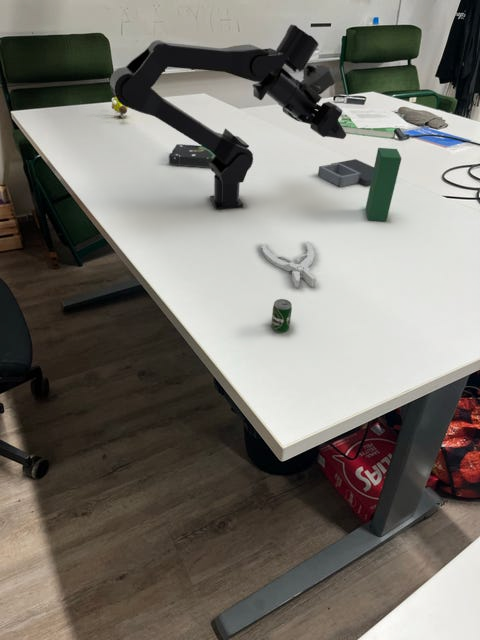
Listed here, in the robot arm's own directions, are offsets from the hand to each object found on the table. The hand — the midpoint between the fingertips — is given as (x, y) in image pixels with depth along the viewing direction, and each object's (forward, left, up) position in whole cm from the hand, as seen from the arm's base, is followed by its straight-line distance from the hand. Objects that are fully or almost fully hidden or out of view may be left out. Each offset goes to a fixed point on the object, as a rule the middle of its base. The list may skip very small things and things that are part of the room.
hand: (334, 131), depth 109 cm
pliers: (-32, +21, -15) cm, 41 cm away
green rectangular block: (-15, -6, -14) cm, 22 cm away
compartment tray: (+8, -11, -14) cm, 20 cm away
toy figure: (+75, +43, -15) cm, 88 cm away
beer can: (-49, +30, -15) cm, 59 cm away
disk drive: (+27, +26, -15) cm, 40 cm away
